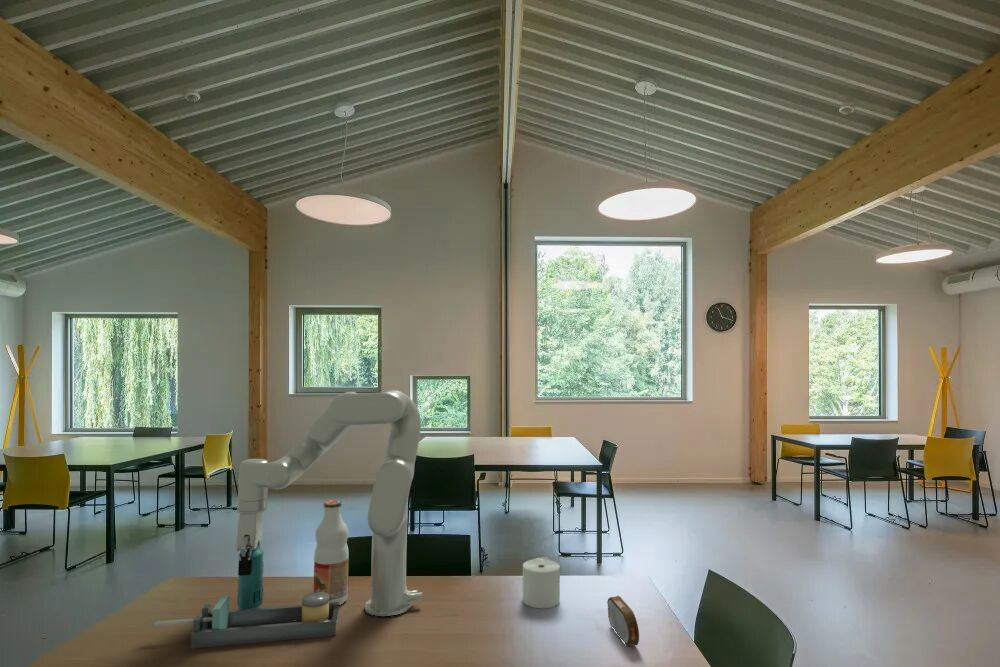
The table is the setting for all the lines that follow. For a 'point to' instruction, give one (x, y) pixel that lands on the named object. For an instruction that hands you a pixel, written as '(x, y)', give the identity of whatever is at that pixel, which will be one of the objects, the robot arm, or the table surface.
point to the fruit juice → (332, 554)
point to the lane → (261, 626)
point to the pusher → (217, 619)
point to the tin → (623, 620)
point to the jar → (315, 606)
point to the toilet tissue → (541, 583)
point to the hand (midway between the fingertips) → (249, 568)
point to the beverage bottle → (252, 583)
